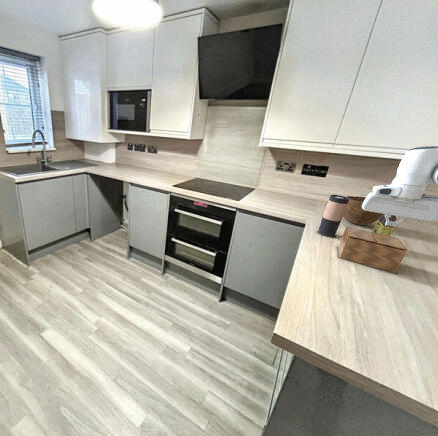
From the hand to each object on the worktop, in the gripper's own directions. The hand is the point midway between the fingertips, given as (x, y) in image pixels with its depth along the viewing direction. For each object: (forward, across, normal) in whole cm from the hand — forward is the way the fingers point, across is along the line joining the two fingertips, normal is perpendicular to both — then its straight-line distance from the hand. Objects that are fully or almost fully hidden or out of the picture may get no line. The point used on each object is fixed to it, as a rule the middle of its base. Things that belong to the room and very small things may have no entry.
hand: (390, 226), depth 92 cm
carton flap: (+6, -1, +1) cm, 6 cm away
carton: (+15, +4, +1) cm, 16 cm away
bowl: (+16, +2, -54) cm, 56 cm away
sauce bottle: (+16, -3, -23) cm, 28 cm away
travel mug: (+15, +17, -20) cm, 30 cm away
